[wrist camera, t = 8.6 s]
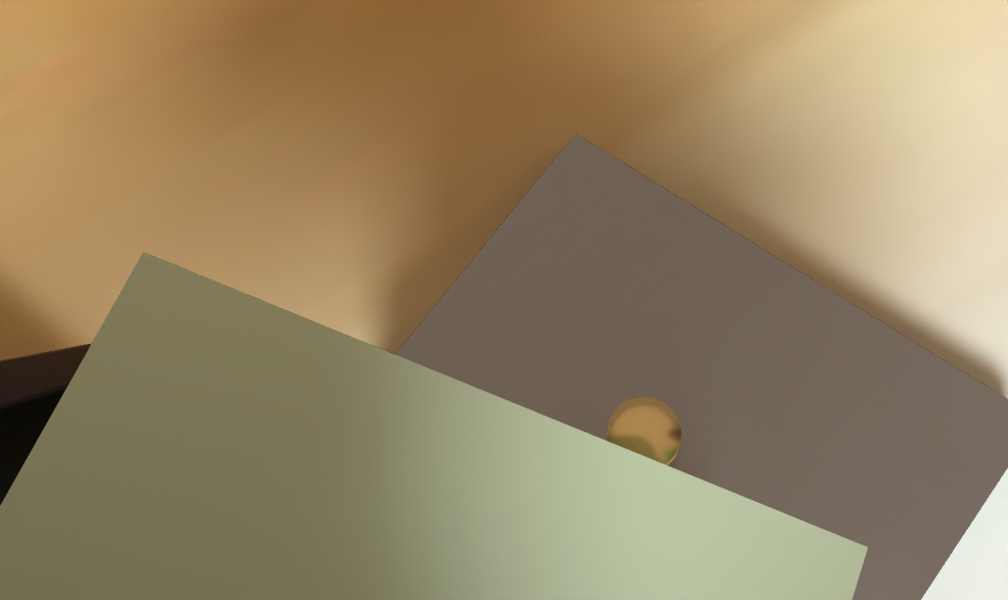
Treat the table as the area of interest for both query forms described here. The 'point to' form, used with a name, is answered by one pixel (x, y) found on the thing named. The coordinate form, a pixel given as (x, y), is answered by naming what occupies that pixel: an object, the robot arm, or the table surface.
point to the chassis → (720, 367)
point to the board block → (356, 480)
